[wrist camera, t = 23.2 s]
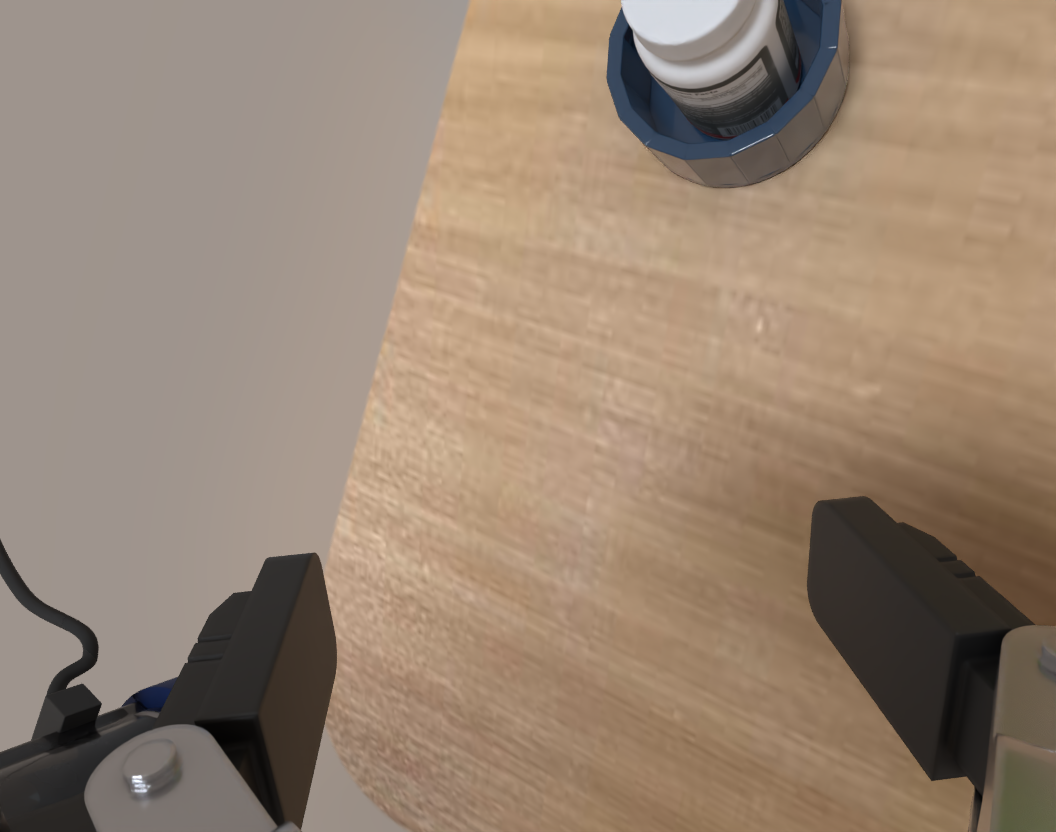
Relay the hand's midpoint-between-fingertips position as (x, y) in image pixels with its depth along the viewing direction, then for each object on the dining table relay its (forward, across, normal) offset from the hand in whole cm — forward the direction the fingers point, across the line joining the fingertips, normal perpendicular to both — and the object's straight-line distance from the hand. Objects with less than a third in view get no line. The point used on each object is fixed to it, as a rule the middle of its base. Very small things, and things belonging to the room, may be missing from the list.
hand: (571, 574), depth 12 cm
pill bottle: (+22, -10, -8) cm, 25 cm away
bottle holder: (+22, -10, -8) cm, 25 cm away
